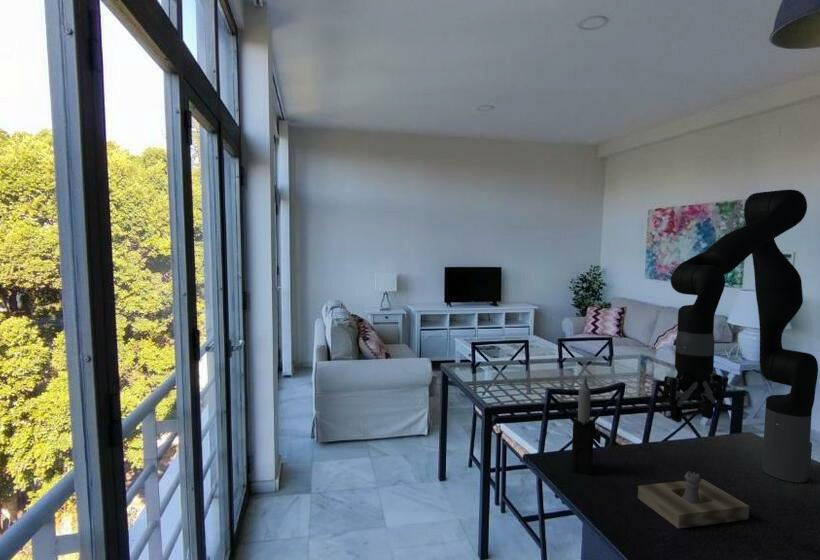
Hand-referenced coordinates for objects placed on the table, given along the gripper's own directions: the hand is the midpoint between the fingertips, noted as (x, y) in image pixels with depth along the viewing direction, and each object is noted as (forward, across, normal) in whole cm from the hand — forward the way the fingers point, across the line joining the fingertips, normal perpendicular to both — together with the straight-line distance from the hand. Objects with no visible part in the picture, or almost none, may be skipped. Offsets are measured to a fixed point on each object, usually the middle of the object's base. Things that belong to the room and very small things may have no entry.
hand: (691, 419), depth 103 cm
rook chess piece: (+20, +2, +3) cm, 20 cm away
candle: (+19, +16, -18) cm, 31 cm away
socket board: (+19, +2, +3) cm, 20 cm away
